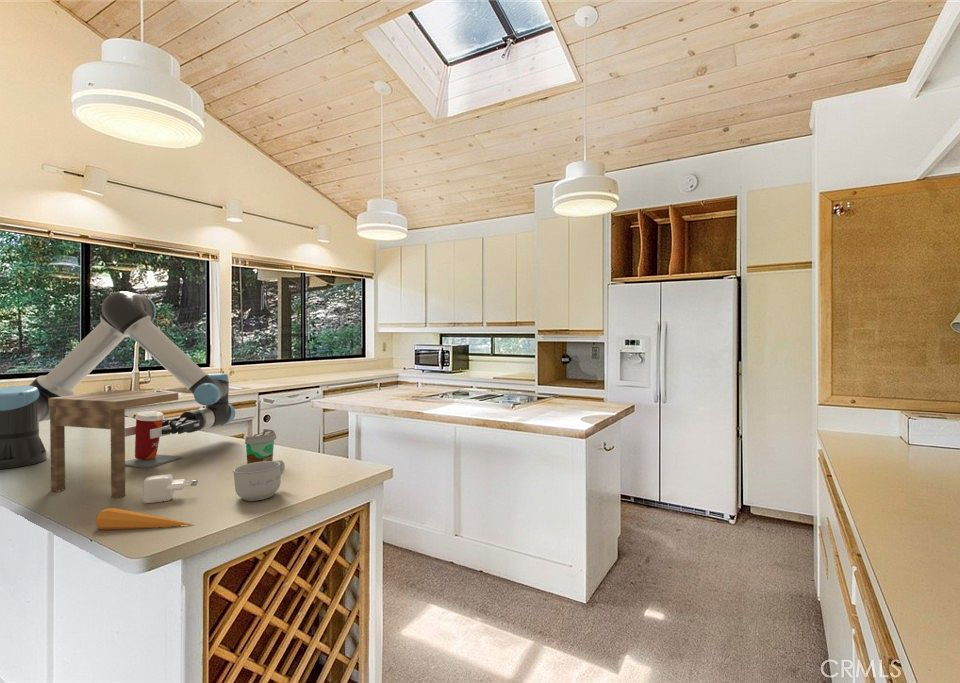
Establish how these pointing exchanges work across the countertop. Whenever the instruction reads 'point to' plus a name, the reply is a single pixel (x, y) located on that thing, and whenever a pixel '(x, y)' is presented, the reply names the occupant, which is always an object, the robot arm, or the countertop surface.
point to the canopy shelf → (101, 414)
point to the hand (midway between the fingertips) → (137, 433)
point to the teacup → (258, 479)
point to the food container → (260, 446)
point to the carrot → (132, 520)
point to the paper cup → (147, 434)
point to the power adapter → (163, 487)
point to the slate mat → (152, 461)
